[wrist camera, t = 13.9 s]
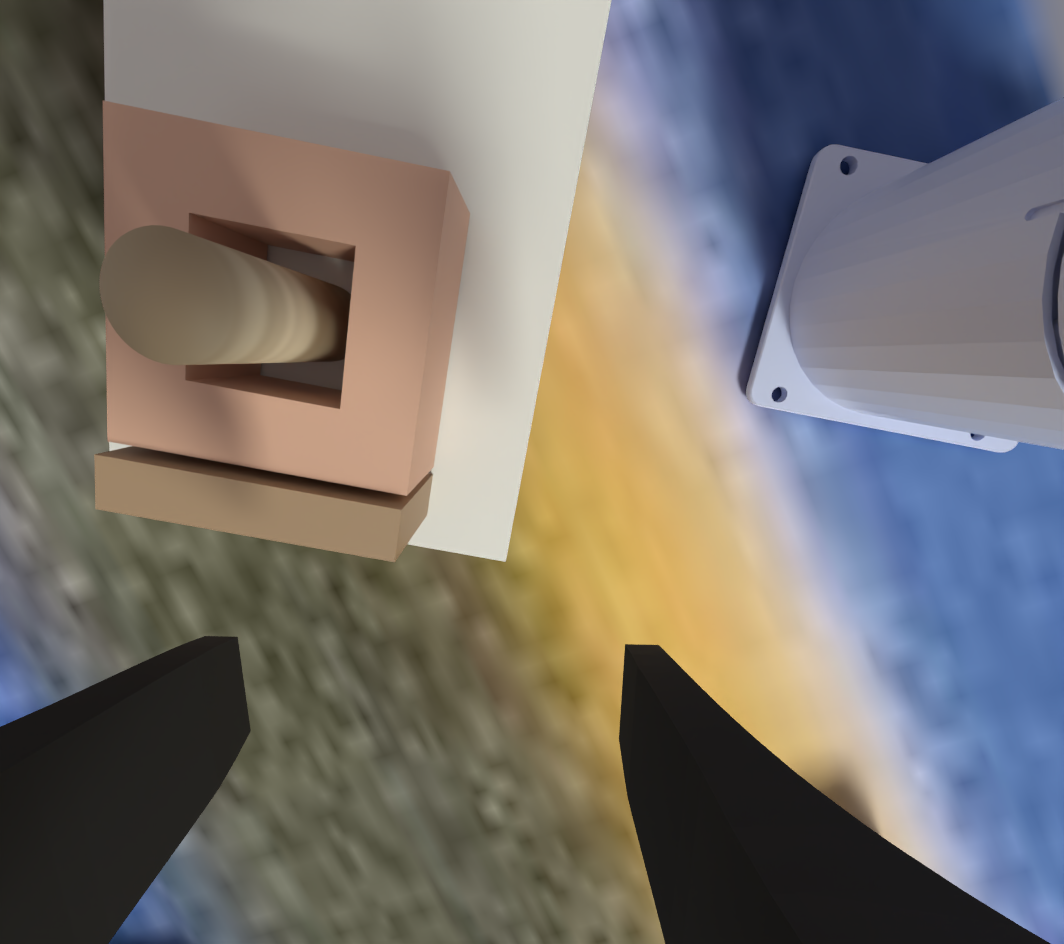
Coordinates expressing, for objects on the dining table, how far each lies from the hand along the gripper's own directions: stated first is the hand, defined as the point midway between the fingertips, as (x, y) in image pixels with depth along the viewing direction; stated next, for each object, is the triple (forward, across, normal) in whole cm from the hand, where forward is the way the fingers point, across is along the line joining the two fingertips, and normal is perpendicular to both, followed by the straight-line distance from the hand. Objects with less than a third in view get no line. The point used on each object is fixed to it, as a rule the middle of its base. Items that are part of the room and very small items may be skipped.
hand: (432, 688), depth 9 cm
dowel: (+8, +5, -7) cm, 12 cm away
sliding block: (+8, +5, -7) cm, 12 cm away
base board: (+9, +4, -9) cm, 14 cm away
